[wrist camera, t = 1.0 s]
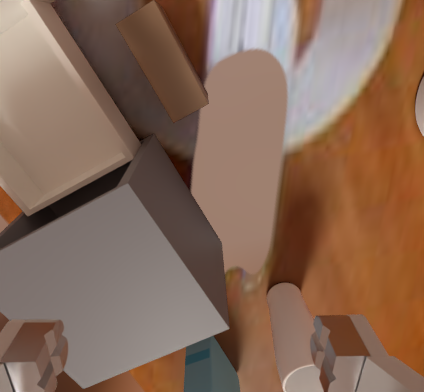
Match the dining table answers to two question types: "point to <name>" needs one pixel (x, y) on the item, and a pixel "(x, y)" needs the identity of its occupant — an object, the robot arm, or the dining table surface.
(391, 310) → the dining table surface
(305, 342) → the drinking glass
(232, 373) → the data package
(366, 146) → the dining table surface
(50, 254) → the cabinet
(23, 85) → the drawer
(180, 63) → the walnut block
